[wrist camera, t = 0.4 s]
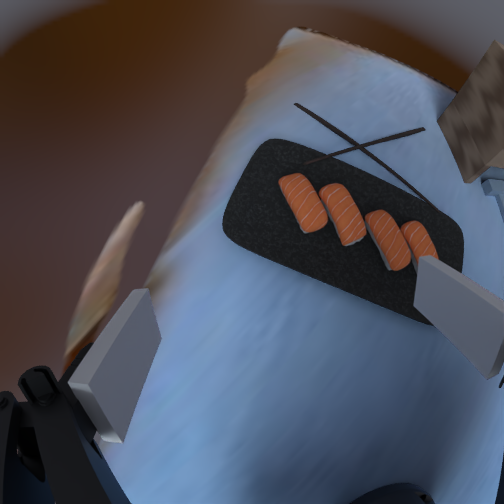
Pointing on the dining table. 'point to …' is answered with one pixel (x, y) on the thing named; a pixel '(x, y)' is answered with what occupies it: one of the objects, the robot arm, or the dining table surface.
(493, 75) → the cabinet
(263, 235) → the sushi plate
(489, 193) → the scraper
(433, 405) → the dining table surface
